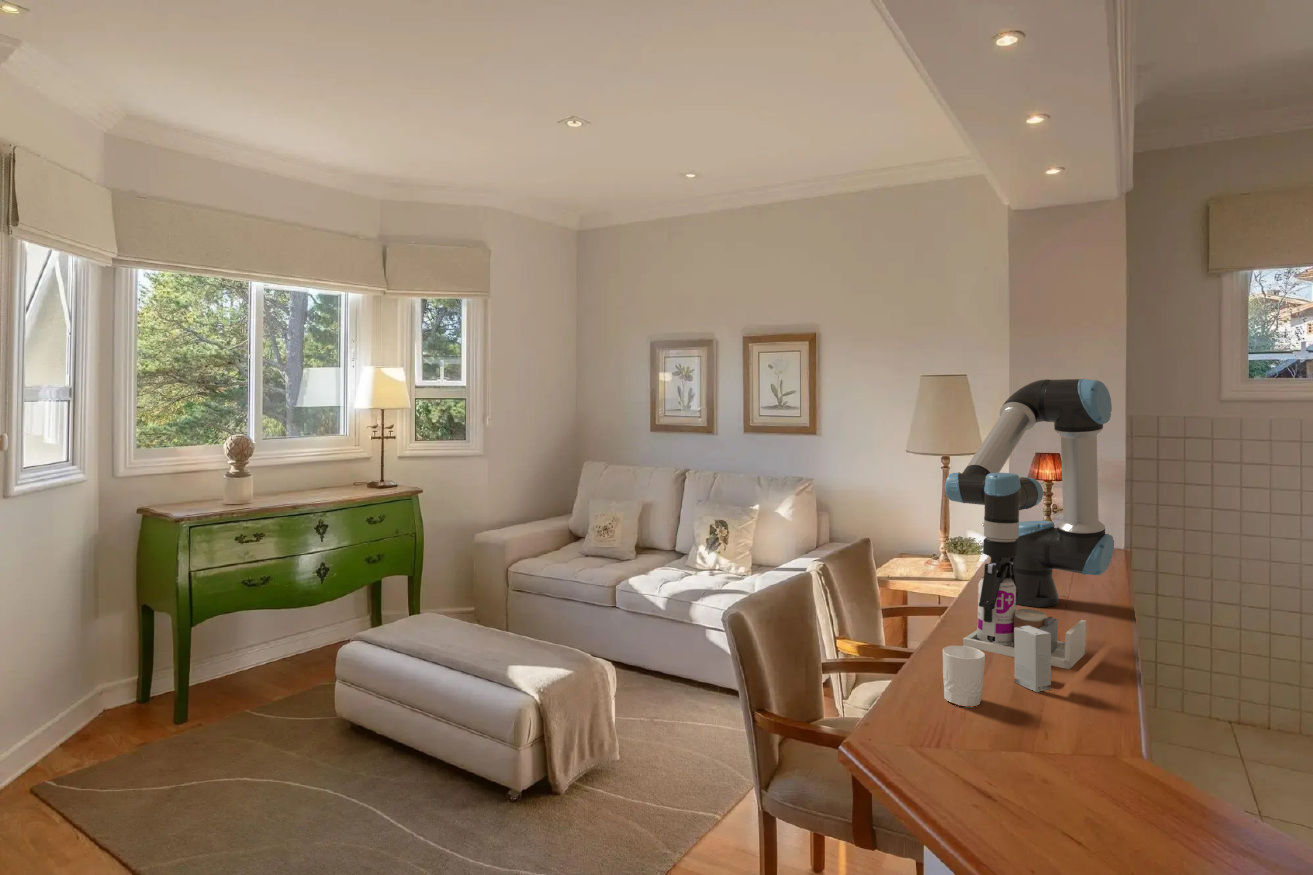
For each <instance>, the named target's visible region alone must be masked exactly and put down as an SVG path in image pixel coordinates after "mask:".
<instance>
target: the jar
mask: <svg viewBox="0 0 1313 875" xmlns="http://www.w3.org/2000/svg"><path fill="white" fill-rule="evenodd" d="M1047 618H1048V617H1047V613H1045V612H1044V611H1042V610H1041V611H1040V610H1037V609H1032V608H1031V609H1030V608H1019V609H1015V614H1014V621H1013V648H1014V628H1016V627H1022V626H1031V627H1034V628H1037V629H1040V628H1041V627H1042V626H1044V620H1045V619H1047Z"/></svg>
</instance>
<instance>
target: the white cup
mask: <svg viewBox="0 0 1313 875" xmlns="http://www.w3.org/2000/svg"><path fill="white" fill-rule="evenodd" d="M941 651H942V676H943V696H944V697H943V698H944V700H945V699H946V700H947V701H949V702H952V703H955V704H958V705H962V706H975V705H979V704H980V705H981V703H982V691H983V686H984V684H983V683H984V677H985V676H984V675H985V674H984V673H985V672H984V671H985V662H986V653H985V652H983V650H979V649H976V648H972V647H967V646H963V645H947V646H945V647H943V648H942V650H941ZM946 700H945V701H946ZM947 701H946V702H947ZM980 702H981V703H980ZM980 705H979V706H980Z"/></svg>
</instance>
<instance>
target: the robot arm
mask: <svg viewBox="0 0 1313 875" xmlns="http://www.w3.org/2000/svg"><path fill="white" fill-rule="evenodd" d="M1112 406H1113V405H1112V398H1111V395H1110V392H1109V389H1108V387H1107V386H1106V385H1105V383H1103V382H1102V381H1100V380H1098V379H1086V378H1071V379H1038V380H1034V381H1033V382H1030V383H1028V384H1026V385H1024V386H1022V387H1021V388H1019V389H1018V390H1016V391H1015V392H1014V393H1013V394H1011V395H1010V396H1009V397H1008V398H1007V399H1006V400H1005V401H1004V402H1003V404H1002V406H1001V408H1000V410H999V418H998V419H997V420H996V422H995V423H994V425H993V426H992V428H991V429H990V431H989V432H988V434H987V436H986V437H985V438H984V440H983V441H982V443H981V444H980V446H979V448H978V449H977V451H976V452H975V453H974V455H973V457H971V459H970V462H968V464H967V466H966V467H965V468H964V470H963V471H962V472H958V471H957V472H952V473H950V474H948V476H947V477H946V479H945V483H944V492H945V496H946V497H947V499H948V500H950V501H951V502H954V503H955V502H957V503H962V504H969V505H978V506H979V505H980V506H984V516H983V521H984V522H982V524H981V525H982V527H983V536H984V537H985V538H984V539H983V546H982V551H983V554H984V555H986V556H989V557H990V560H989V561H990V562H989V563H985V564H984V573H983V574H984V575H983V576H984V579H983V585H982V591H981V597H980V602H979V606H980V607H983V629H982V634H984V635H989V636H994V637H995V634H996V608H994V607H995V603H996V599H997V595H998V591H999V587H1000V583H1002V582H1003V580H1004V578H1010V579H1012V580H1013V582H1014V584H1015V586H1016V605H1019V606H1027V607H1034V608H1035V607H1037V608H1039V607H1040V608H1045V607H1046V608H1047V607H1053V606H1057V605H1059V593H1058V590H1057V586H1056V583H1055V580H1054V577H1053V570H1059V571H1066V572H1070V573H1077V574H1082V575H1085V576H1086V575H1090V576H1102V575H1103V574H1104V573H1106V571H1107V570H1108V568H1109V566H1110V564H1111V563H1112V562H1111V561H1112V558H1113V554H1114V551H1115V550H1114V549H1115V540H1114V536H1113V535H1111V534H1109V533H1106V526H1105V524H1104V523H1103V522H1102V521H1100V520H1099V488H1098V487H1099V483H1098V482H1099V478H1098V477H1099V476H1098V434H1100V433H1101V432H1102V431H1103V430H1104V425H1105V424H1107V423H1109V421H1110V420H1111V417H1112V411H1113V409H1112ZM1040 422H1047V423H1054V424H1053V427H1054V428H1053V429H1054V431H1055V432H1056V433H1057V434H1059V436H1060V449H1061V450H1060V452H1061V453H1060V454H1061V483H1062V484H1061V486H1062V520H1061V521H1060V522H1058V523H1057V527H1056V525H1055V523H1054V522H1053V521H1052V520H1051V521H1049V520H1027V521H1025V520H1024V521H1020V520H1019V519H1020V511H1023V510H1029V509H1031V508H1033V507H1036V506H1037V505H1039V504H1040V503H1041V502H1042V500H1043V497H1044V489H1043V486H1042V484H1041V483H1040V482H1039V481H1038V479H1037V480H1036V479H1035V478H1032V477H1030V476H1029V477H1025V476H1021V477H1020V476H1019V475H1018V474H1016V473H1012V472H1001V470H1002V469H1003V468H1004V466H1005V464H1006V463H1007V461H1008V459H1009V458H1010V456H1011V455H1012V454H1013V452H1014V450H1015V448H1016V447H1017V446H1018V444H1019V443H1020V441H1021V439H1022V437H1023V435H1025V433H1026V432H1027V431H1029V430H1031V429H1032V428H1033V427H1034V426H1035V424H1036V423H1040ZM987 601H988V602H987Z"/></svg>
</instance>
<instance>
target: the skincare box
mask: <svg viewBox="0 0 1313 875" xmlns="http://www.w3.org/2000/svg"><path fill="white" fill-rule="evenodd" d="M1014 648H1015V657H1014V683H1015V684H1017V685H1018V686H1020V687H1024V688H1025V689H1029V690H1031V691H1032V690H1033V691H1032V692H1035V693H1040V692H1039V691H1044V692H1046V691H1045V690H1049V691H1051V690H1052V687H1051V686H1052V665H1051V633H1048V632H1045V631H1043V630H1040V629H1037V628H1034V627H1031V626H1022V627H1016V628H1014ZM1050 689H1051V690H1050Z"/></svg>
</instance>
